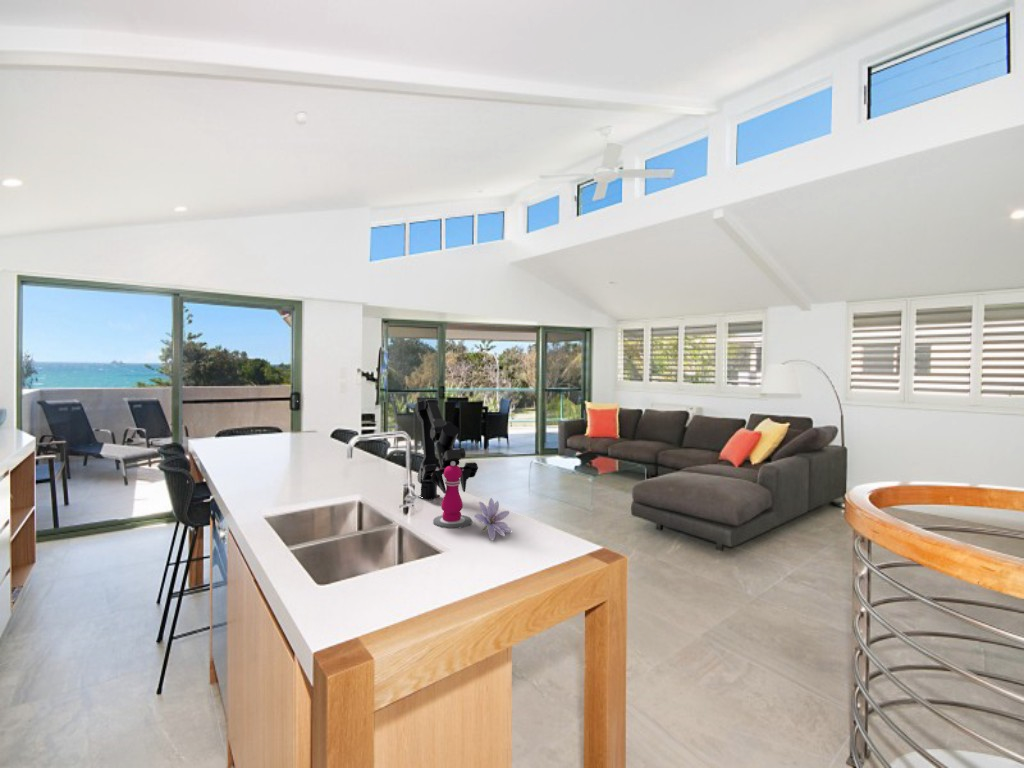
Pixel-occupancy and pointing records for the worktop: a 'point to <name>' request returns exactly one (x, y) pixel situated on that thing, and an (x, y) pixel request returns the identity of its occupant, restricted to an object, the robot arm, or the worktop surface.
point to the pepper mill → (452, 494)
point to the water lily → (493, 518)
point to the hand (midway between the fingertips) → (454, 492)
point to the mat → (456, 524)
